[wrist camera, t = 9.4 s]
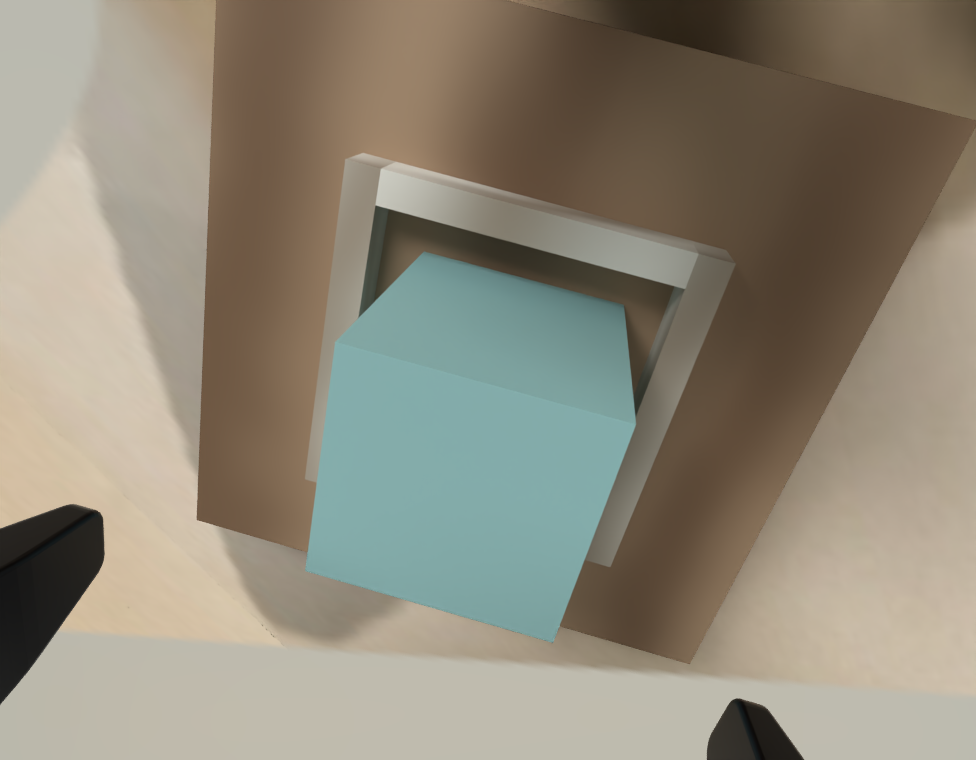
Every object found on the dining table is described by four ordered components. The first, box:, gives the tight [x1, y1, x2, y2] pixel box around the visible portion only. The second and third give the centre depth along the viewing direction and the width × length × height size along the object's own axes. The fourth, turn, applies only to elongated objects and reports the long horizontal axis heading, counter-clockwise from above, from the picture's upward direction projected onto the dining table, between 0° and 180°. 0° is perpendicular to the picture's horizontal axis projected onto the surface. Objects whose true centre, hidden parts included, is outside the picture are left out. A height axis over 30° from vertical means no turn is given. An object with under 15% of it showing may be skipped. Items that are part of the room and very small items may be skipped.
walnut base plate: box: [197, 0, 976, 664], centre depth 18 cm, size 16×16×4 cm
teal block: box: [305, 252, 636, 643], centre depth 14 cm, size 5×5×6 cm
